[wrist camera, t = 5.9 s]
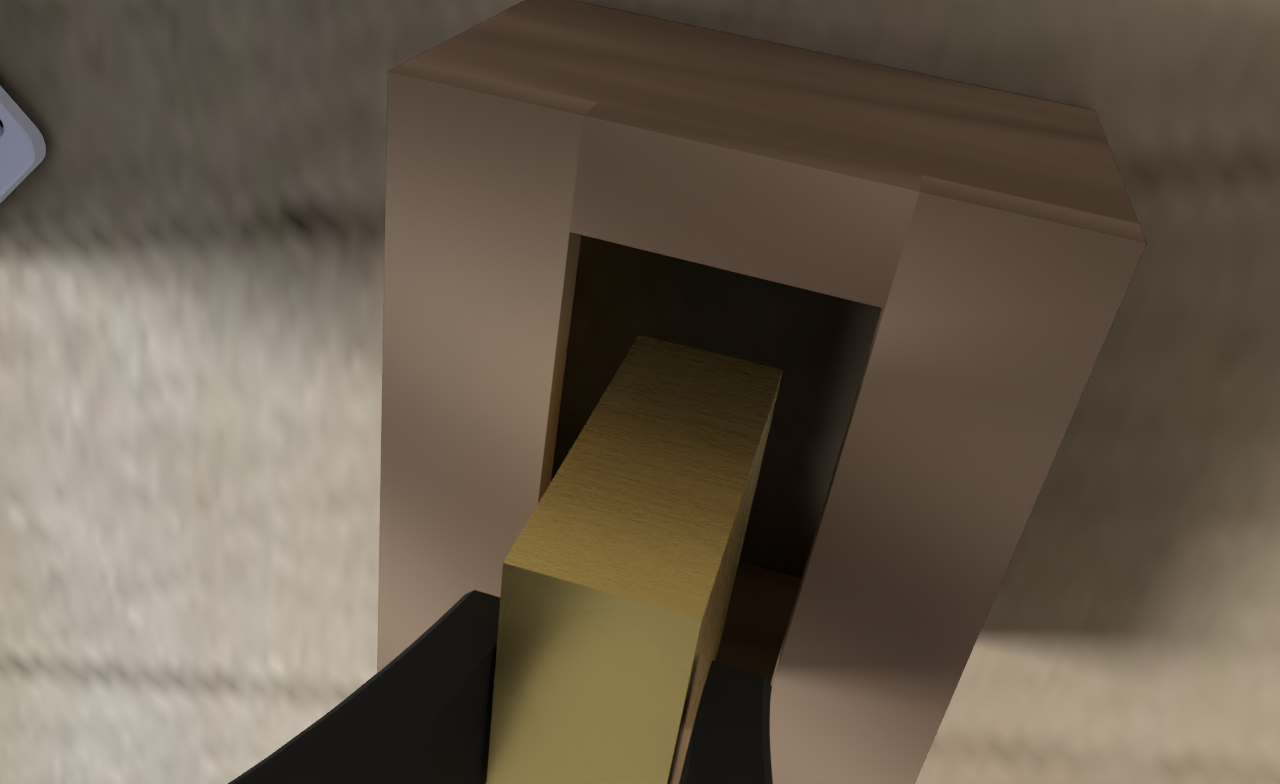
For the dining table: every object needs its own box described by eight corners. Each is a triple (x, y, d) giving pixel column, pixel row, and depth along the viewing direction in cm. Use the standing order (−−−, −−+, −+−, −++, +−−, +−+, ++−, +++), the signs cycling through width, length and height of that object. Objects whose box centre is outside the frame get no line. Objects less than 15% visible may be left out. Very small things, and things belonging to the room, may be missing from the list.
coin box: (538, -8, 18) (388, 71, 13) (1094, 110, 16) (1146, 243, 12) (492, 513, 23) (376, 694, 19) (900, 630, 22) (883, 855, 18)
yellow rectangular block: (638, 334, 15) (503, 562, 10) (782, 370, 14) (701, 619, 10) (600, 604, 17) (479, 872, 13) (721, 639, 17) (636, 924, 13)
